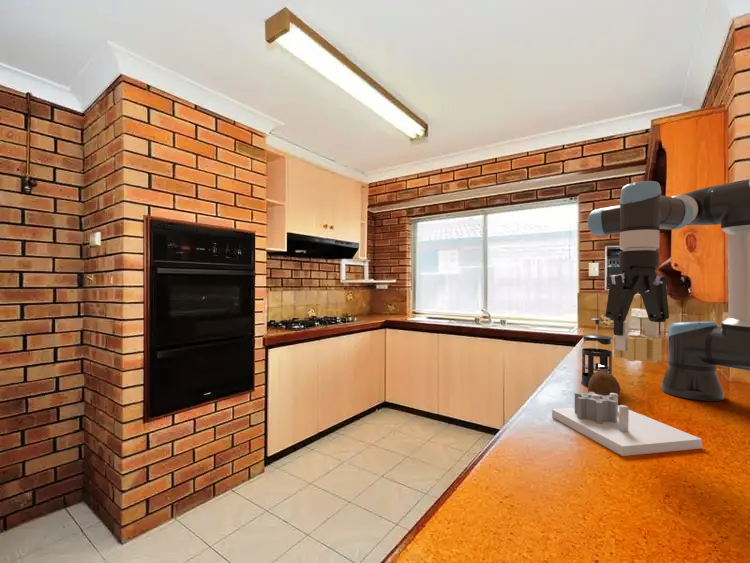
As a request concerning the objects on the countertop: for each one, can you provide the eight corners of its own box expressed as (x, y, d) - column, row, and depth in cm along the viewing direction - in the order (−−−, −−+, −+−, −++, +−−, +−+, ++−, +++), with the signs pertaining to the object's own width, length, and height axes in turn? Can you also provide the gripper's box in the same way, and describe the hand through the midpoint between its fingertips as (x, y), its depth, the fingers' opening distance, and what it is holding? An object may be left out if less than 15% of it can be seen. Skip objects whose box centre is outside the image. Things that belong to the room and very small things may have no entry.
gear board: (617, 412, 102) (617, 384, 101) (701, 448, 80) (702, 413, 80) (552, 416, 98) (552, 388, 98) (622, 456, 76) (622, 419, 76)
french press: (604, 391, 121) (604, 320, 120) (574, 384, 128) (575, 318, 128) (619, 385, 127) (620, 318, 127) (590, 379, 135) (591, 316, 135)
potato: (623, 398, 114) (624, 369, 114) (617, 408, 105) (617, 377, 105) (592, 392, 120) (592, 365, 119) (584, 401, 111) (584, 372, 110)
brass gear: (621, 353, 92) (621, 333, 92) (664, 359, 85) (664, 337, 85) (608, 357, 86) (608, 336, 86) (654, 364, 79) (654, 340, 79)
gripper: (660, 253, 91) (658, 346, 91) (587, 250, 87) (585, 347, 87) (691, 250, 84) (689, 352, 84) (614, 247, 80) (611, 353, 80)
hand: (636, 349), depth 85 cm, fingers closed on brass gear, 7 cm apart
